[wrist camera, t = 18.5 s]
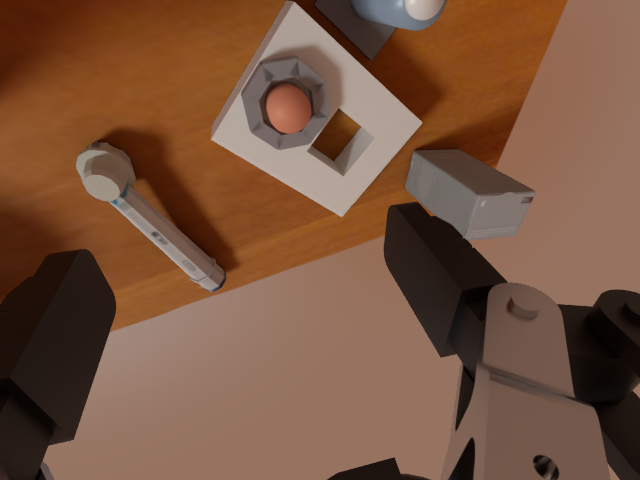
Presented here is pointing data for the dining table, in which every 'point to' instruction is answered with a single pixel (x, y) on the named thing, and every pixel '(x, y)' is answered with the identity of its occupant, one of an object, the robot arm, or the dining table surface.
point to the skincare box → (468, 193)
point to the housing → (313, 113)
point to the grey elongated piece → (143, 211)
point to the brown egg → (287, 107)
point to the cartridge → (400, 12)
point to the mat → (355, 26)
